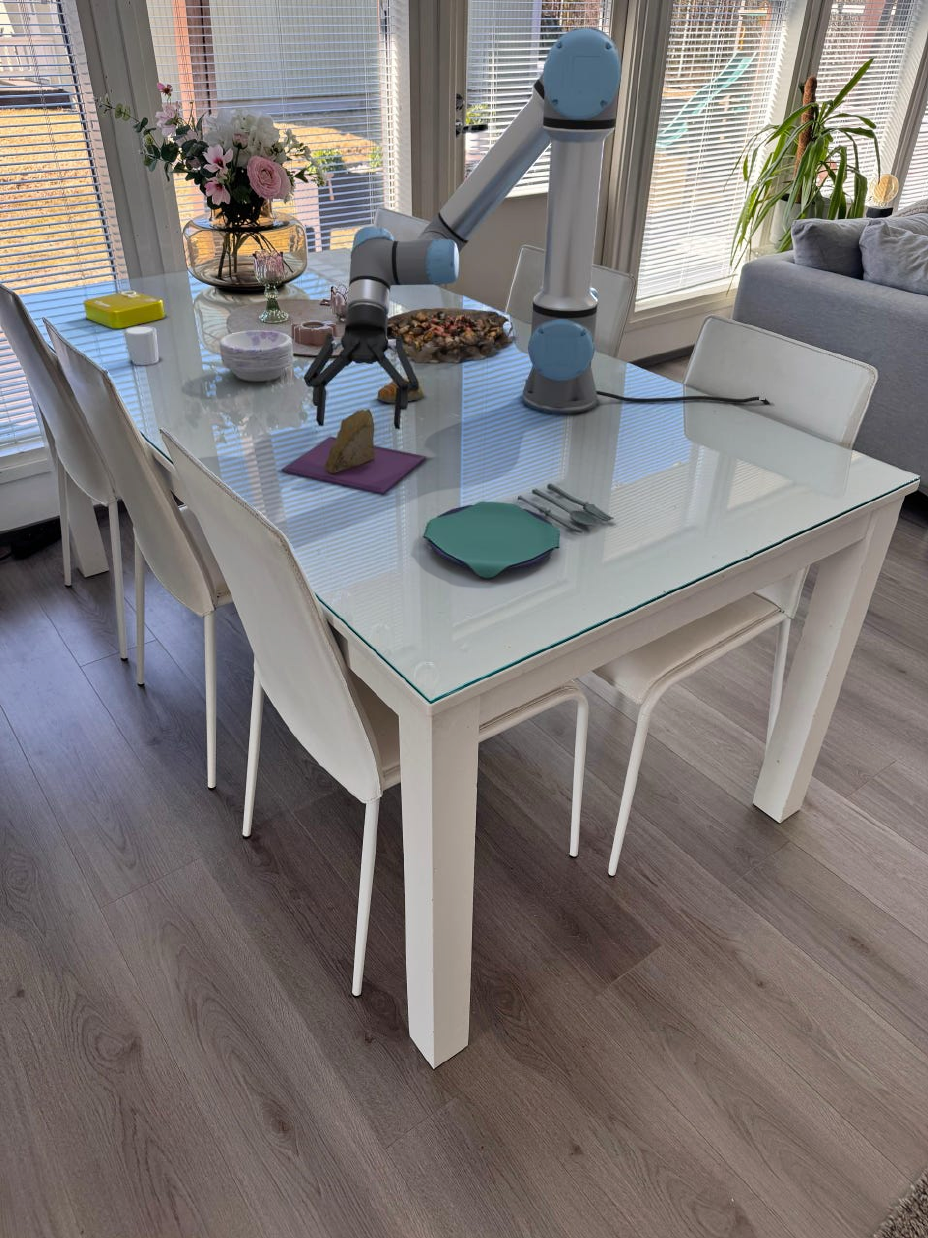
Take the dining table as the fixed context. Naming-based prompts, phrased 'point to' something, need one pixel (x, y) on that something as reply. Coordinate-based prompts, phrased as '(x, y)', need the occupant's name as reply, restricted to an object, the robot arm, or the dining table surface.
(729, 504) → the dining table surface
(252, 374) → the paper bowls
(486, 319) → the food dish
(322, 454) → the cloth
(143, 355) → the white cylinder
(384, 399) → the pastry
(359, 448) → the rock
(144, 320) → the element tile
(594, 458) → the dining table surface
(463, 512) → the cutlery set
